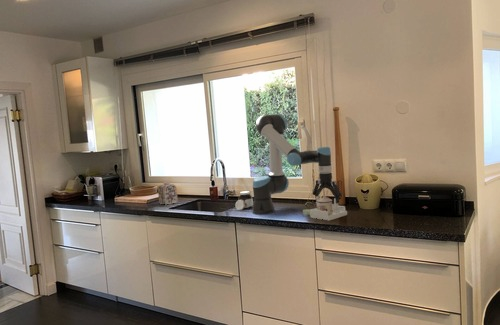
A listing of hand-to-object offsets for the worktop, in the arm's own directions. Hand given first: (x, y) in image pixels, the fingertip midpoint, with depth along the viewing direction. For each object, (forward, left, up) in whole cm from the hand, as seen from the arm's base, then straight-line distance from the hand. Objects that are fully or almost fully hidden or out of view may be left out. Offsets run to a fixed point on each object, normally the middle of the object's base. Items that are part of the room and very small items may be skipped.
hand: (327, 207), depth 232 cm
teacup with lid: (0, 0, -5) cm, 5 cm away
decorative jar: (-140, -32, -6) cm, 144 cm away
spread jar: (-65, -12, -6) cm, 67 cm away
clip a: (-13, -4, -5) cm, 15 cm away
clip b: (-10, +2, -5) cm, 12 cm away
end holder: (0, 0, -5) cm, 5 cm away
